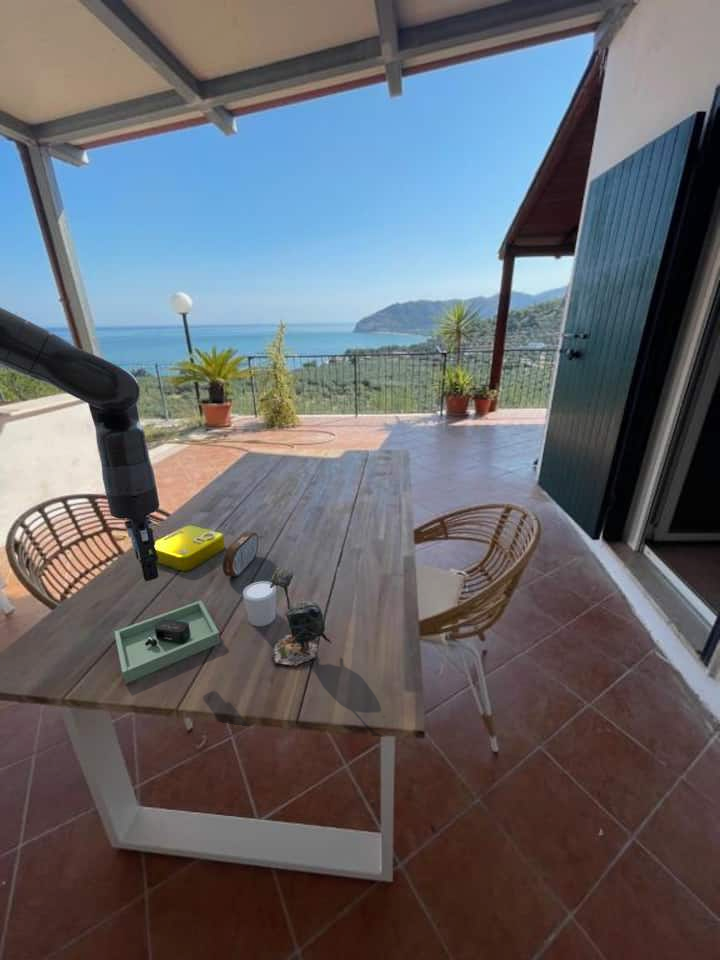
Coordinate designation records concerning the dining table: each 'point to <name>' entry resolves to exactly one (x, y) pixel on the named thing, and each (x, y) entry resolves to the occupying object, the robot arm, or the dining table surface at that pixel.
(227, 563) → the brown digital clock
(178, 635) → the wireless earbuds
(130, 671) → the pale tray
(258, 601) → the white cylinder
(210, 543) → the element tile
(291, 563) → the dining table surface
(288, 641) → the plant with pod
